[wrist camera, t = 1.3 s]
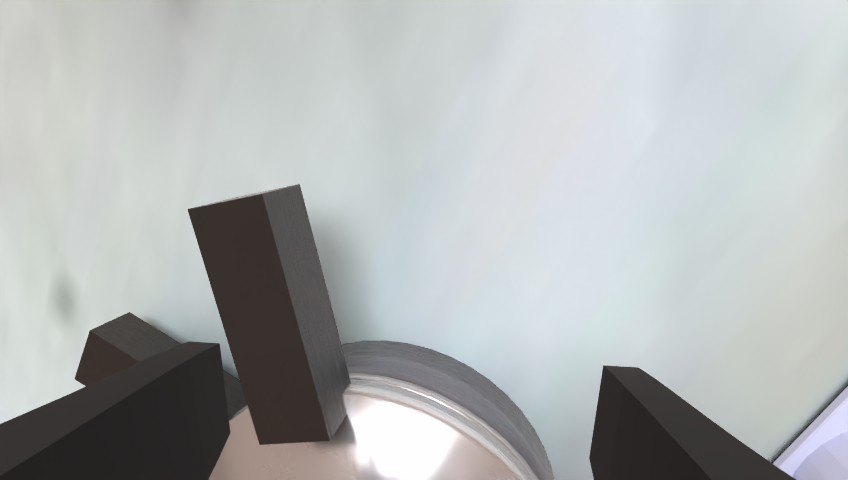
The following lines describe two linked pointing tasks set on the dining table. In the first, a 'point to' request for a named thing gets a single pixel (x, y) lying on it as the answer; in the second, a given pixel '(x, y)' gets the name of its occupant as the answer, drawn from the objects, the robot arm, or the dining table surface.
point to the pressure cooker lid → (316, 367)
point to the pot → (365, 361)
